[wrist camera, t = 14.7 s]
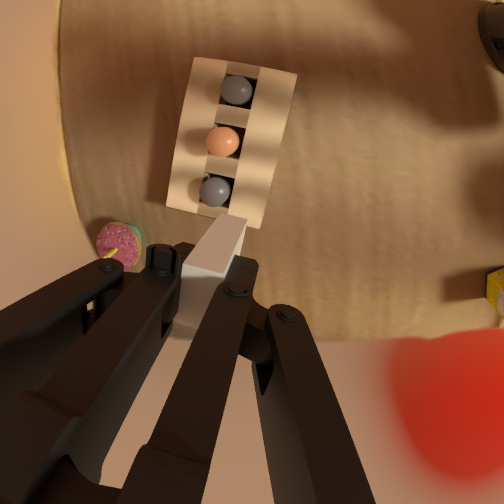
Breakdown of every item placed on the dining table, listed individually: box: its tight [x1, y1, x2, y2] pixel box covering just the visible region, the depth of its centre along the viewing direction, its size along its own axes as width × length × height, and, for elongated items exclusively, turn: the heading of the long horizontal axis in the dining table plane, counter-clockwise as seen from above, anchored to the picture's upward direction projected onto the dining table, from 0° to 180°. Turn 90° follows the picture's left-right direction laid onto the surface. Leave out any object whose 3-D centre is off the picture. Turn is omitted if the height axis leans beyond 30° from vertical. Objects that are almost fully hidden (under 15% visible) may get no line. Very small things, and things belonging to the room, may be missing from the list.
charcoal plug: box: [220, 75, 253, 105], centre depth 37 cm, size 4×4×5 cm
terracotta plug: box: [206, 127, 239, 157], centre depth 39 cm, size 4×4×5 cm
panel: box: [166, 57, 297, 229], centre depth 42 cm, size 22×14×5 cm, turn 167°
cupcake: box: [96, 222, 142, 271], centre depth 47 cm, size 9×8×12 cm
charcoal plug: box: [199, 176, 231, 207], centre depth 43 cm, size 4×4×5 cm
